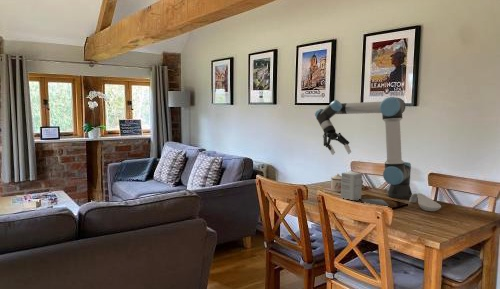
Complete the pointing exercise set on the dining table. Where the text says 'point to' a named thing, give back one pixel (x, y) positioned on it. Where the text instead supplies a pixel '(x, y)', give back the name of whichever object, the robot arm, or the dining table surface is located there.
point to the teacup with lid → (336, 183)
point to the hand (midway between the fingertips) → (341, 153)
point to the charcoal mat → (375, 201)
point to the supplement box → (351, 185)
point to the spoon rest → (425, 202)
